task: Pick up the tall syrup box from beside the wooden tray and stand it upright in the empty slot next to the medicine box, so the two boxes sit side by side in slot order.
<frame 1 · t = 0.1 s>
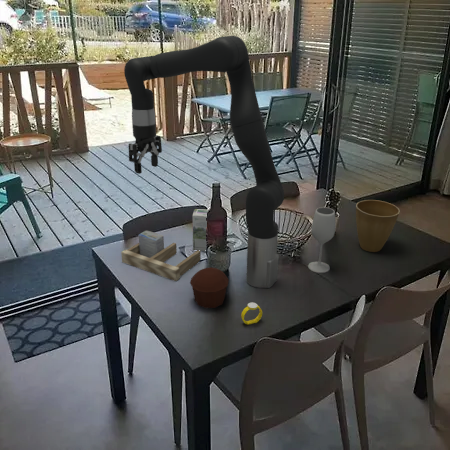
hand: (146, 169, 165), 29 cm above the table, tool pointing down, fingers open, 8 cm apart
muffin: (209, 300, 147), on the table
medicine box: (152, 257, 170), resting in wooden tray
syrup box: (201, 248, 176), on the table
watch: (251, 322, 137), on the table
wineglass: (318, 267, 165), on the table
wooden tray: (163, 261, 167), on the table
plant pot: (371, 247, 178), on the table
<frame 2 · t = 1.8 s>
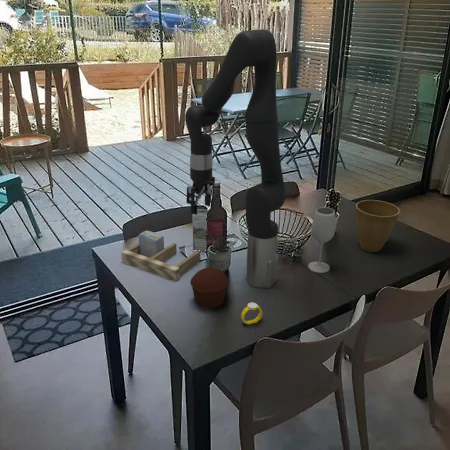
hand: (201, 209, 169), 15 cm above the table, tool pointing down, fingers open, 8 cm apart
nothing on the table moved.
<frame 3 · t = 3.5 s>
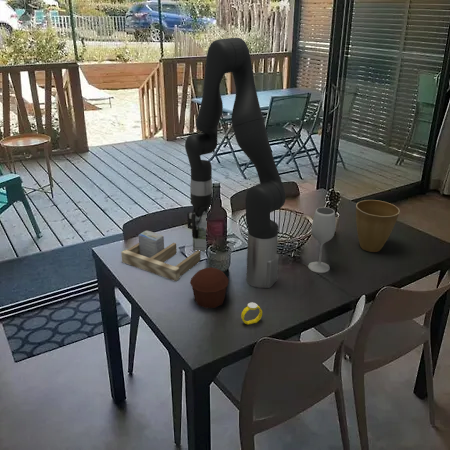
hand: (201, 233, 173), 6 cm above the table, tool pointing down, fingers closed on syrup box, 7 cm apart
syrup box: (201, 248, 176), on the table, touching gripper
everything else where it was.
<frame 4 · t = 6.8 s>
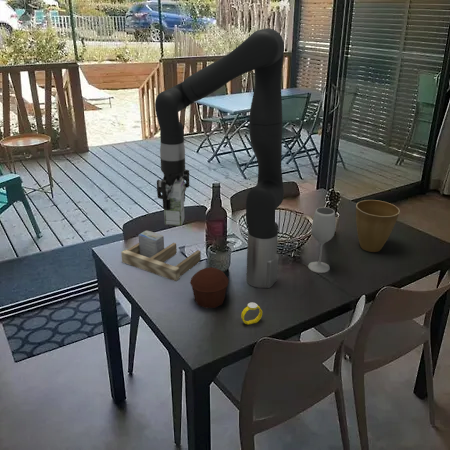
hand: (174, 205, 156), 22 cm above the table, tool pointing down, fingers closed on syrup box, 7 cm apart
syrup box: (174, 222, 158), point 16 cm above the table, touching gripper
everything else where it was.
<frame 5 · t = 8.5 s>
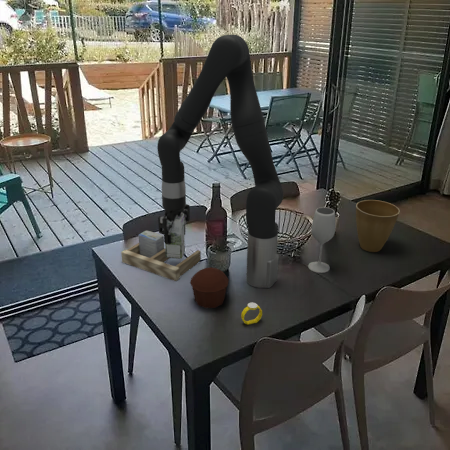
hand: (175, 239, 161), 10 cm above the table, tool pointing down, fingers closed on syrup box, 7 cm apart
syrup box: (175, 255, 164), point 4 cm above the table, touching gripper
everything else where it was.
when the fingers open (7 cm above the table, at t = 10.1 s): syrup box drops 1 cm, resting in wooden tray.
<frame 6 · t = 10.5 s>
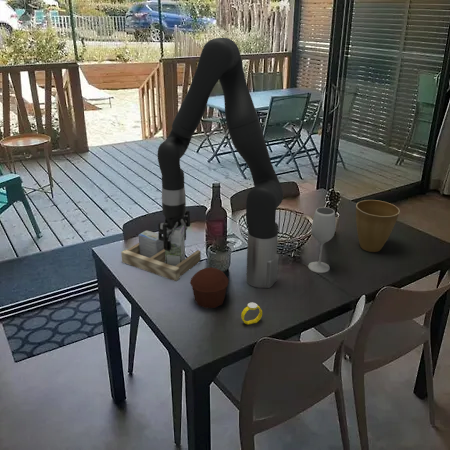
hand: (175, 244, 162), 8 cm above the table, tool pointing down, fingers open, 8 cm apart
syrup box: (175, 265, 165), resting in wooden tray
everything else where it was.
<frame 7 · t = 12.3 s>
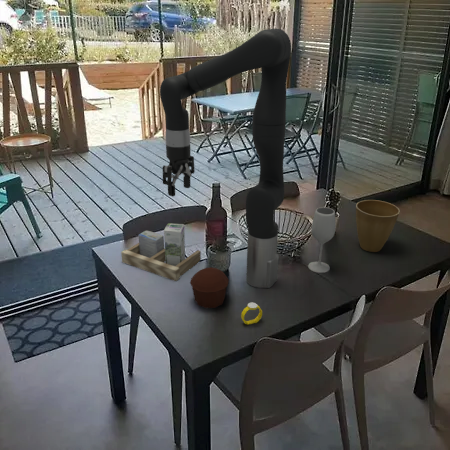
hand: (179, 191, 157), 25 cm above the table, tool pointing down, fingers open, 8 cm apart
nothing on the table moved.
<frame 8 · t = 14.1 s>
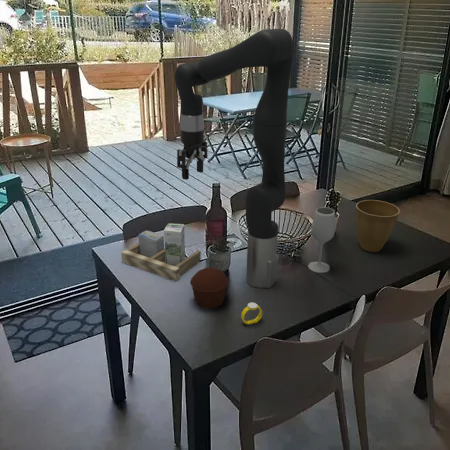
hand: (193, 175, 163), 28 cm above the table, tool pointing down, fingers open, 8 cm apart
nothing on the table moved.
at the end: syrup box inside the target area on the wooden tray (0.0 cm from its centre), point 0.0 cm above the wooden tray's base; syrup box tilted 0°; medicine box moved 0.3 cm from its start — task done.
